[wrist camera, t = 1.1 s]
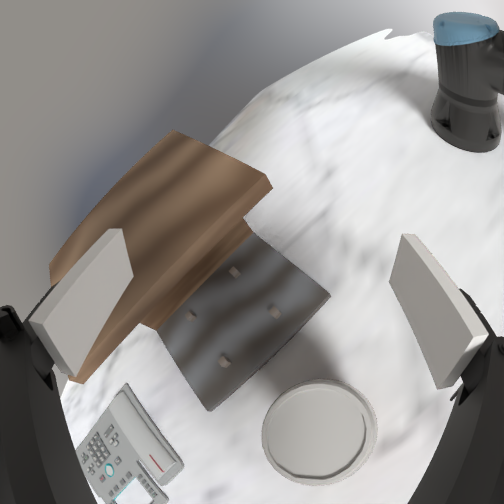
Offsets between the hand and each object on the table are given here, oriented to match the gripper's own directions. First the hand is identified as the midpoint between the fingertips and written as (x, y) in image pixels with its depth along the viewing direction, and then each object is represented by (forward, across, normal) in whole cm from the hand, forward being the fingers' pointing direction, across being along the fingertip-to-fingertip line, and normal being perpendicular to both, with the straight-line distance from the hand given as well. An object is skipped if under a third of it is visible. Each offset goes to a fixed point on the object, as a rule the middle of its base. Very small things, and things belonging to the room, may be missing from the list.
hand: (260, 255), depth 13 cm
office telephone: (-1, -21, -41) cm, 46 cm away
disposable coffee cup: (+3, +9, -24) cm, 26 cm away
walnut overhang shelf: (+18, -4, -21) cm, 28 cm away
